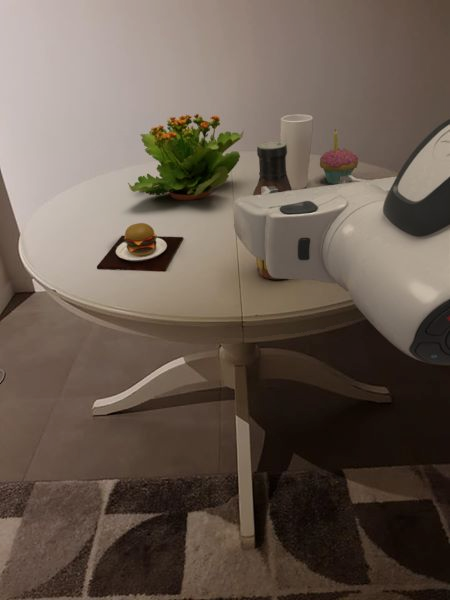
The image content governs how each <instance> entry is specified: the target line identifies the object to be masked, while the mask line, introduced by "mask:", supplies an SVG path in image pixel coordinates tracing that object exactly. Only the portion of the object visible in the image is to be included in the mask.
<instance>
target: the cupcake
mask: <svg viewBox="0 0 450 600" xmlns="http://www.w3.org/2000/svg"><path fill="white" fill-rule="evenodd" d="M336 130H337V129H336V128H334V132H333V139H334V140H333V147H334V148H333V149H330V150H328V151H325V152H324V153H323V154H322V155H321V156H320V158H319V167H320V168H321V169H323V172H324V175H325V178H326V182H327V183H328V184H330V185H334V184H338V183H339V182H338V179H339V177H341V176H349V175H352V173H353V171H354V170H355V169H356V168H357V167H358V165H359V157H358V155H357V154H355V153H354V152H353V151H351V150H349V149H347V148H338V132H337V131H336Z"/></svg>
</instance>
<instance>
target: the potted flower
mask: <svg viewBox="0 0 450 600" xmlns="http://www.w3.org/2000/svg"><path fill="white" fill-rule="evenodd" d="M209 119H210V120H212V121H210V120H205V119H203V116H202V115H200V114H199V113H196V114H195V115H193V116H191V115H190V114H185V115H181V116H179V117H178V118H176V117H175V116H171V117H169V119H167V120H166V121H167V124H166V125H167V130H166V129H165V128H164V127H165V126H164V125H161V124H158V126H152V127H151V128H150V131H149V132H148V133H140V134H139V135H140V137H141V142H142V143H143V146H144V147H146V148H145V149H144V152H145V153H147V154H148V155H149V156H151V158H153V159H154V160H155V161H158V163H159V164H157V167H156V171H157V172H158V173H159V176H155V177H154V176H152V175H151V174H150V173H146V176H145V175H141V176H138V178H137V181H138V182H135V183H134V184H133V185H131V184H130V182H127V184H128V186H129V189H130V191H132V192H133V193H135V192H138V193H145V194H149V195H150V196H154V195H155V196H161V195H162V196H164V195H165V194H166V193H169V196H170V197H171V198H173V199H175V200H178V201H194V200H198V199H202V198H204V197H207V196H209V195H210V194H211V192H212V190H213V189H215V188H219V187H220V186H222V185H223V184H224V183H226V182H227V181H228V178H229V177H230V175H229V174H230V172H231V171H232V170H233V169H234V168H235V167H236V166H237V164H238V162H239V161H240V158H241V155H240V152H239V151H236V150H233V151H231V152H226V151H227V150H228V149H229V148H231V147H232V146H233V145H234V144H236V143H237V142H238V141H240V140H242V138H243V136H244V133H245V131H244V130H243V131H242V132H241V134H240V133H238V132H232V133H231V131H229V130H227V131H225V132H224V133H223V132H220V133H219V134H218V136H217V138H216V137H215V132H216V129H217V127H218V126H219V127H220V125H221V122H220V120H221V119H220V116H218V115H212V116H211V117H210V118H209ZM192 123H194V124H195V125H196V126H197V128H196V127H194V125H192ZM190 124H191V126H189V125H190ZM211 128H212V129H213V132H212V134H211V135H210V137H209V139H210V140H208V141H207V140H206V138H208V136H209V133H208V132H210V131H211ZM167 131H168V132H167ZM201 133H202V135H203V136H202V137H201V138H200V135H201ZM225 152H226V153H225ZM224 153H225V154H224ZM223 154H224V155H223Z"/></svg>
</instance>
